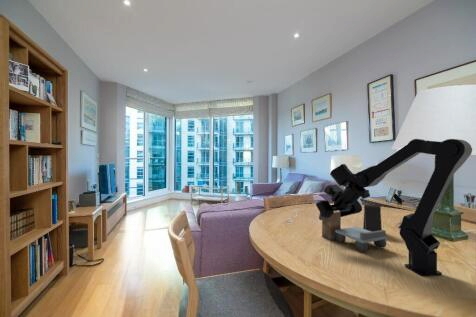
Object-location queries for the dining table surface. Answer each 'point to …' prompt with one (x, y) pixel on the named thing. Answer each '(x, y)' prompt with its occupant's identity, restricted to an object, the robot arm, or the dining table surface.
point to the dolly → (362, 237)
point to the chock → (331, 226)
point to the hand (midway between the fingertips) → (328, 218)
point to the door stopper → (372, 218)
